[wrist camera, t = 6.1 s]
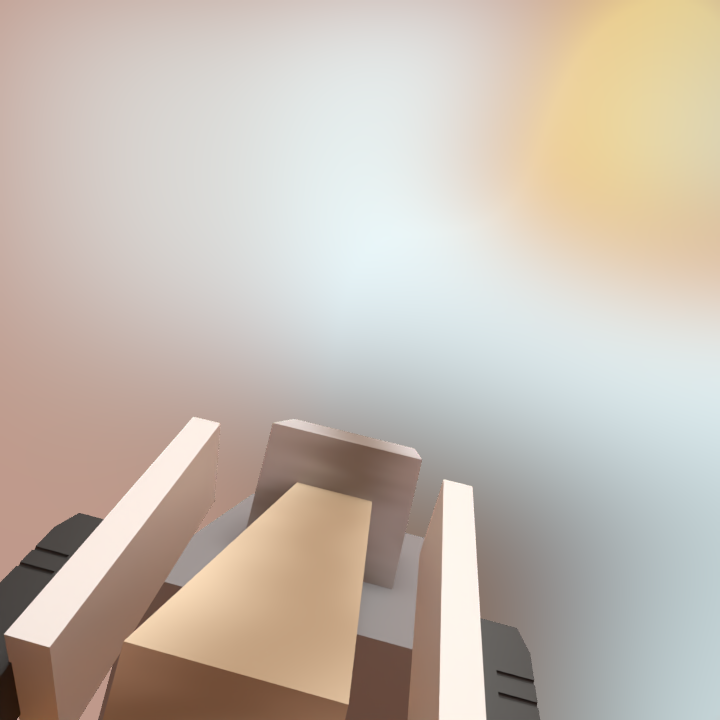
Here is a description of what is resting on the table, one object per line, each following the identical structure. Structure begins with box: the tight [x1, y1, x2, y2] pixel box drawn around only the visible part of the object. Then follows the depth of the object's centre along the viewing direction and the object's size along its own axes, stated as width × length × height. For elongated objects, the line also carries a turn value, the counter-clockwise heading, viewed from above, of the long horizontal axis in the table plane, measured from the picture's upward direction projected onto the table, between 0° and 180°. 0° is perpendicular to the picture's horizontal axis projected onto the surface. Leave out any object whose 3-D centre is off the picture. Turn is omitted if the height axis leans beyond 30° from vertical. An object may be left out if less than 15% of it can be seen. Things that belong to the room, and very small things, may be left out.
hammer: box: [103, 419, 422, 720], centre depth 16 cm, size 6×18×5 cm, turn 177°
